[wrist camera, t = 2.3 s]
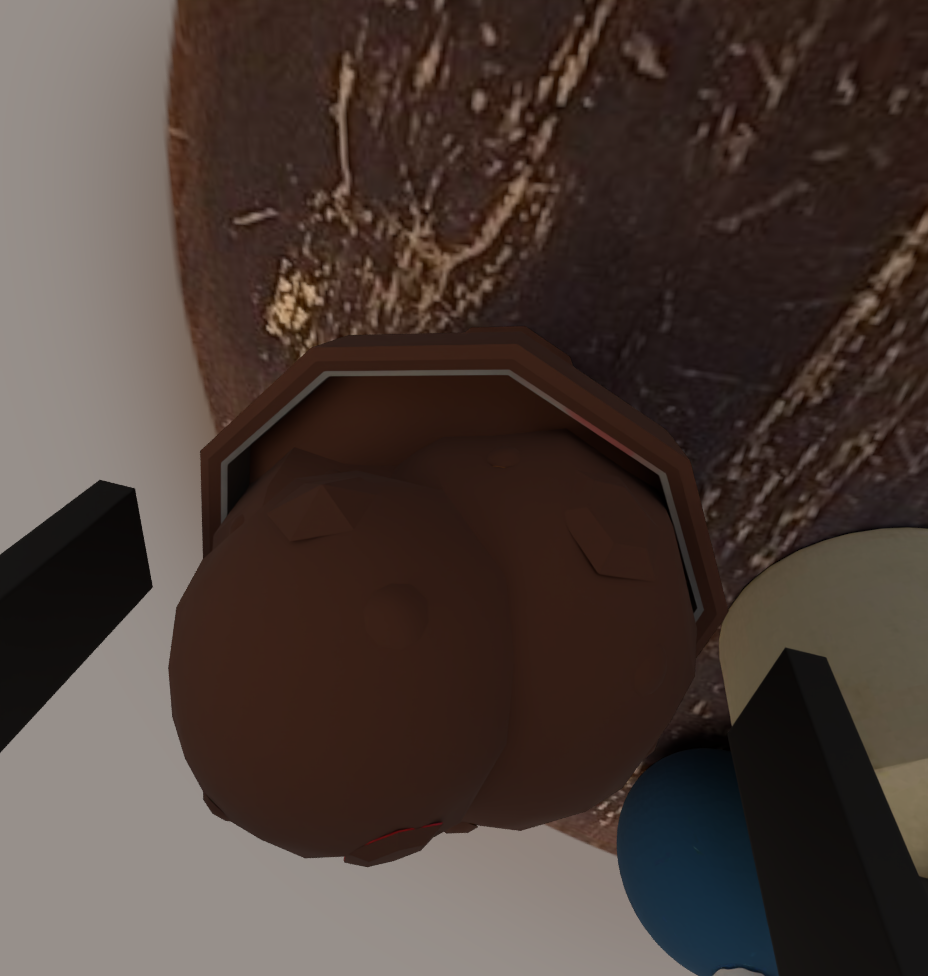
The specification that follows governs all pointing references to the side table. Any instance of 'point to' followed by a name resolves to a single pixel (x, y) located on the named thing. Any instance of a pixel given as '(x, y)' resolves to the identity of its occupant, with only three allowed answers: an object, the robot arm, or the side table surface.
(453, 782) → the ice cream bowl
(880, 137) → the side table surface
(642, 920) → the christmas ornament
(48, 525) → the robot arm
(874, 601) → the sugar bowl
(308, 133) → the side table surface
